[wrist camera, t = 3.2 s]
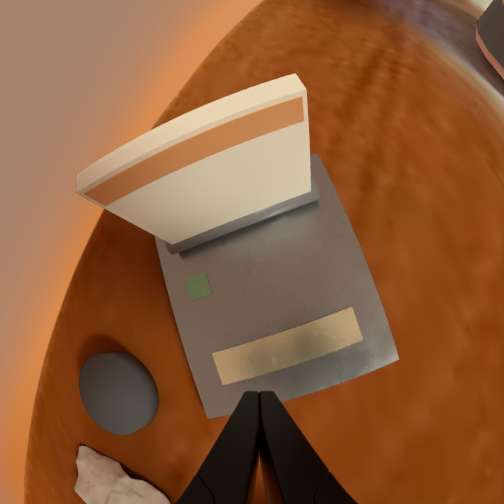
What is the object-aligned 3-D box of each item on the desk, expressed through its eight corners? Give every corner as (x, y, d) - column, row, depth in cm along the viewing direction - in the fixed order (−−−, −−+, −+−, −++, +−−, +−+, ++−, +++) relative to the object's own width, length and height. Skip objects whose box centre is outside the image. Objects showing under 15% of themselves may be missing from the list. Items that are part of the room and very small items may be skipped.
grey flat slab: (395, 357, 18) (399, 359, 17) (212, 414, 20) (207, 419, 19) (317, 159, 22) (317, 152, 21) (156, 222, 24) (150, 218, 23)
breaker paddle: (319, 203, 20) (323, 92, 9) (177, 257, 21) (68, 206, 11) (310, 181, 21) (303, 64, 10) (172, 235, 22) (68, 172, 11)
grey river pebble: (172, 382, 21) (158, 389, 19) (143, 441, 20) (129, 450, 18) (110, 336, 23) (93, 337, 20) (87, 394, 22) (71, 399, 20)
